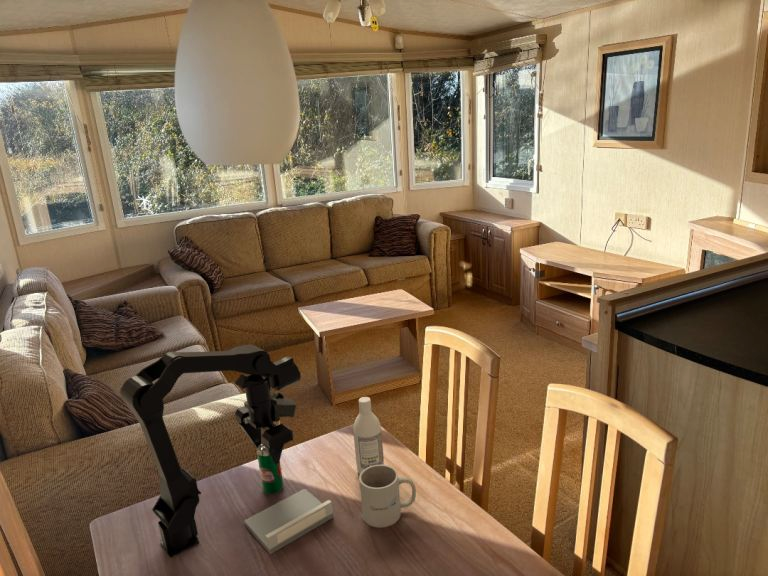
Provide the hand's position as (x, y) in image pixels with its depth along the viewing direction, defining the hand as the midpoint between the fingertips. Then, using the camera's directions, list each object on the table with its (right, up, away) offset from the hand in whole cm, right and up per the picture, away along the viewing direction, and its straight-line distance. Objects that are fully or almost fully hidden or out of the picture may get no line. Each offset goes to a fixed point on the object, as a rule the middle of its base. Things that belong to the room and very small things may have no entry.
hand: (267, 455), depth 134 cm
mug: (+29, -11, -8) cm, 32 cm away
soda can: (+1, -9, +3) cm, 10 cm away
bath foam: (+25, -6, +8) cm, 27 cm away
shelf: (+7, -12, -9) cm, 16 cm away
